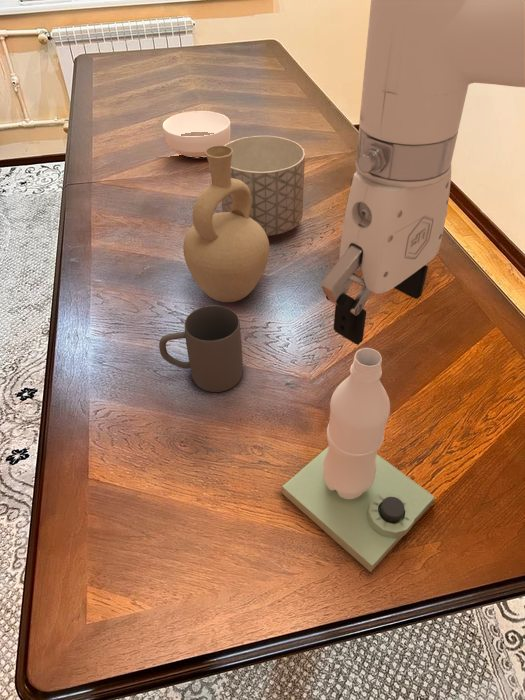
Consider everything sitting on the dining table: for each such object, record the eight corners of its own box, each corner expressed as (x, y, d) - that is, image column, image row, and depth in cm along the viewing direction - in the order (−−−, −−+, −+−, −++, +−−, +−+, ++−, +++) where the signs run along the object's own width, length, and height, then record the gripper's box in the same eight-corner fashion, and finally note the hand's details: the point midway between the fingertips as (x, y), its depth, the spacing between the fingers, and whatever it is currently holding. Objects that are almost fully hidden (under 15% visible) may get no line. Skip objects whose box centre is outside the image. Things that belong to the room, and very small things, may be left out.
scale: (435, 506, 75) (440, 492, 73) (373, 575, 69) (377, 562, 66) (344, 438, 84) (346, 424, 82) (281, 493, 77) (282, 480, 75)
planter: (272, 199, 140) (272, 129, 127) (317, 230, 128) (322, 156, 116) (209, 221, 132) (202, 149, 120) (251, 256, 121) (249, 180, 108)
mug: (240, 353, 98) (237, 302, 90) (246, 390, 92) (243, 338, 83) (165, 361, 97) (155, 310, 89) (166, 399, 91) (154, 347, 82)
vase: (235, 328, 103) (225, 182, 83) (172, 297, 111) (149, 155, 90) (285, 286, 113) (288, 145, 92) (224, 259, 120) (214, 124, 99)
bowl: (192, 172, 152) (189, 142, 146) (153, 151, 163) (149, 123, 157) (245, 151, 161) (244, 123, 155) (204, 133, 172) (202, 105, 166)
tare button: (407, 512, 71) (409, 506, 70) (393, 527, 70) (395, 521, 69) (388, 498, 73) (390, 492, 72) (375, 512, 71) (376, 506, 70)
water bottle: (328, 455, 80) (343, 329, 62) (376, 469, 78) (406, 342, 60) (315, 496, 75) (328, 371, 57) (366, 511, 73) (395, 387, 56)
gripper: (375, 204, 37) (353, 376, 49) (502, 129, 45) (457, 291, 57) (295, 170, 41) (293, 337, 53) (426, 107, 49) (398, 263, 61)
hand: (378, 313), depth 55 cm, fingers open, 9 cm apart
